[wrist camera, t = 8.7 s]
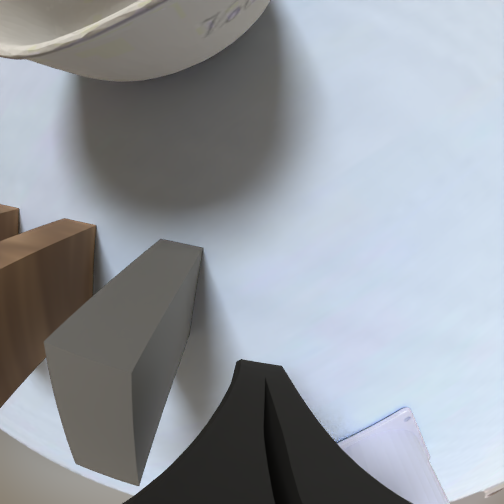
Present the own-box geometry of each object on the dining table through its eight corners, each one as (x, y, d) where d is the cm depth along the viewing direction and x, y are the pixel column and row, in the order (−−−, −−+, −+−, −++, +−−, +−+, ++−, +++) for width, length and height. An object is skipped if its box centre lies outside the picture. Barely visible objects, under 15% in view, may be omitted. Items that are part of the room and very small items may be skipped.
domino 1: (96, 225, 13) (-48, 294, 5) (92, 309, 14) (-9, 418, 6) (64, 218, 13) (-77, 275, 5) (63, 299, 14) (-42, 392, 6)
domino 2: (203, 247, 14) (131, 372, 5) (189, 335, 15) (139, 486, 6) (160, 238, 13) (43, 341, 5) (151, 325, 15) (75, 463, 6)
